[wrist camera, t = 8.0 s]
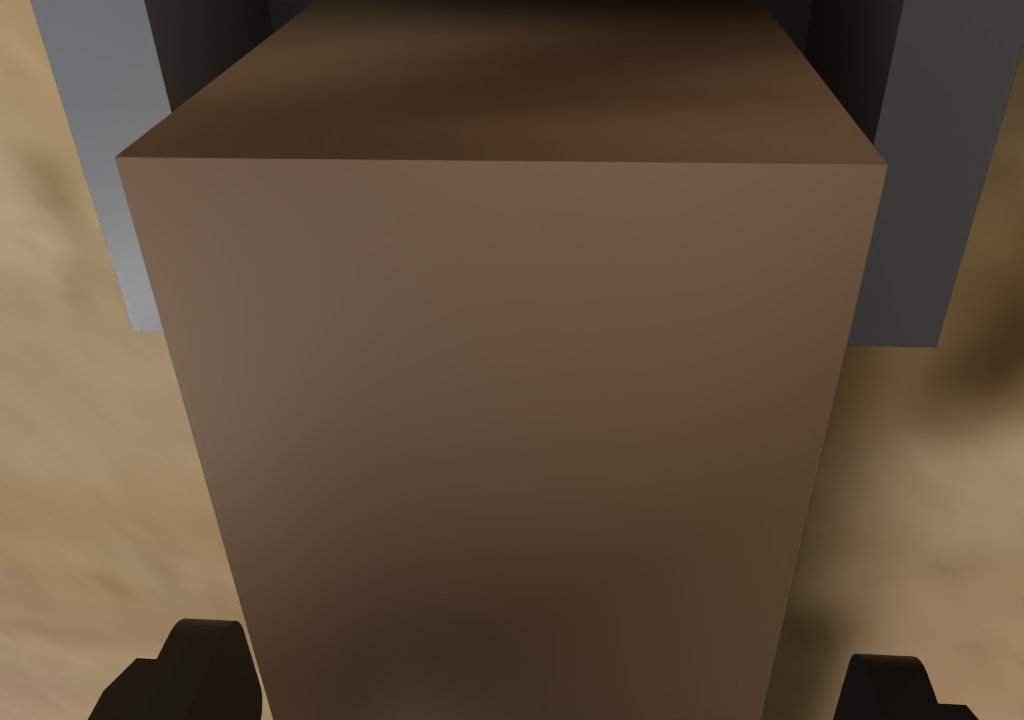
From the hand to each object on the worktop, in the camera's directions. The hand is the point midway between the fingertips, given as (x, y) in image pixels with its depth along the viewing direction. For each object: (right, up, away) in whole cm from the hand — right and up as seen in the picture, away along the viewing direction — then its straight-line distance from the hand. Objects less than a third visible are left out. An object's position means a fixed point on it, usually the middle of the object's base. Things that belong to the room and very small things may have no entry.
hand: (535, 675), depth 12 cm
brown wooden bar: (0, +2, +3) cm, 3 cm away
